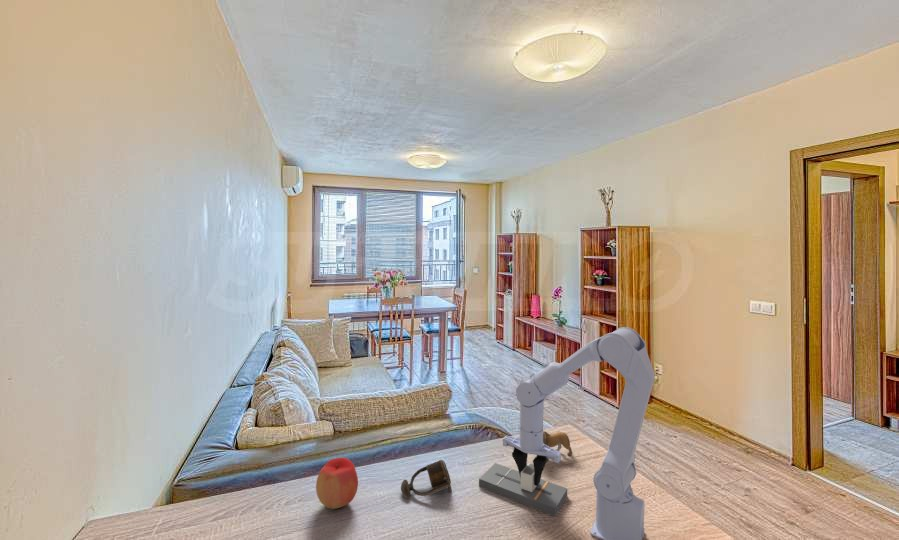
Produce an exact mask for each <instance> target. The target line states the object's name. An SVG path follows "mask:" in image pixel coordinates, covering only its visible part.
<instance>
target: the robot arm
mask: <svg viewBox="0 0 899 540" xmlns="http://www.w3.org/2000/svg"><path fill="white" fill-rule="evenodd" d="M592 361H595V362H599V363H601V362H604V361H605V362H606V363H608V364H609V365H610V366H612V367H613V368H614V369H615V370H617V371H618V372H619V373H620V374H621V376H622V377H623V378H624V380H625V384H624V387H623V388H624V389H623V393H622V395H621V399H620V404H619V407H618V412H617V415H616V420H615V424H614V426H613V431H612V435H611V438H610V442H609V446H608V449H607V452H606V454H605V456H604V458H603V460H602V464H601V467H600V468H599V469H598V470H596V472H595V473H594V475H593V479H592V480H593V485H594V488H595V490H596V504H595V505H596V507H595V508H596V509H595V520H594V523H593V524H592V527H591V529H590V531H589V532H590V536H593V537H595V538H598V539H600V540H643V538H645V507H646V506H645V500H644V499H642V498H639V497H638V496H636V495H635V494H634V490H633V488H632V485H631V483H632V482H633V480H634V479H635V478H636V476H637V469H636V464H635V461H636V457H637V456H636V453H635V452H636V449H637V445H638V441H639V437H640V434H641V429H642V426H643V423H644V419H645V415H646V412H647V409H648V405H649V404H648V403H649V401H650V398H651V394H652V389H653V386H654V382H655V371H654V368H653V365H652V362H651V359H650V357H649V354H648V350H647V342H646V341H645V340H644V338H643V337H642V336H641V335H640V334H639V333H638V332H637V331H636V330H635V329H633V328H631V327H628V326H627V327H626V326H622V327H618V328H616V329H615V330H614V331H613V332H612V331H611V332H609V333H605V334H604V335H603V336H600V337H598V338H596V339H593V340H592V341H590V342H588V343H586V344H585V345H583V346H582V347H581V348H579V349H578V350H576V351H575V352H573V354H570V356H568V357H567V358H566V359H564V361H562V362H560V363H559V362H557V361H553V362H552V361H551V362H546V363H545V364H543V365H542V367H543V368H542V369H540V370H539V371H538V372H536V373H531V374H530V375H529V379H527V380H525V381H521V382H520V383H519V385H517V387H516V390H515V395H516V396H515V397H516V399H517V400H518V402H519V435H518V436H519V437H516V436H511V435H505V436H503V438H502V446H503V447H511V448H513V451H512V452H511V456H512V458H513V460H514V461H515V464H516V466H517V471H519V474H520V479H521V471H522V470H523V469H524V468H525V467H526V466H527V464H528V455H534V456H535V457H534V458H533V460H532V464H533V465H534V485H536V486H537V485H538V484H539V483H540V479H542V475H543V472H544V469H545V467H546V464H547V462H548V461H549V460H551V461H553V462H554V463H557V464H559V463H560V462H561V461H562V451H560V450H559V451H557V450H556V449H555V448H553V447H549V446H547V445H545V444H543V431H544V404H545V402H544V401H545V399H546V398H547V397H549V396H550V395H551V394H553V393H555V392H557V391H558V390H559V389H561V388H563V387H565V385H567V384H569V379H570V375H571V374H573V373H574V372H575V371H577V370H579V369H581V368H582V367H584V366H585V365H587V364H589V363H590V362H592ZM548 459H549V460H548ZM547 460H548V461H547Z"/></svg>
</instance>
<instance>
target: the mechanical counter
mask: <svg viewBox="0 0 899 540" xmlns="http://www.w3.org/2000/svg"><path fill="white" fill-rule="evenodd" d="M425 471H427V474H428V478H429V482H430V485H431V489H430V490H427V491H418V490H416V489H415V487H414V480H415V479H416V477H417V476H418V475H419V474H421V473H423V472H425ZM450 477H451V476H450V474H449V471H448V468H447V465H446V462H445V460H443V459H439V460H437V461H435V462H433V463H430V464H427V465H425V466H423V467H421V468H419V469H418V470H416V471H415V473H414V474H413V475H412V476H411V478H410V483H409V482H408V480H407V479H403V481H402V482H401V486H400V490H401V493H402V496H404V498H406V499H408V498H411V492H413V493H414V494H415V495H417V496H421V497H426V496H430V495H433V494H435V493H437V492H440V491H442V490H444V489H447V488H448V491H449V493H452V492H453V490H452V486H451V482H452V481H451V478H450Z"/></svg>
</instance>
